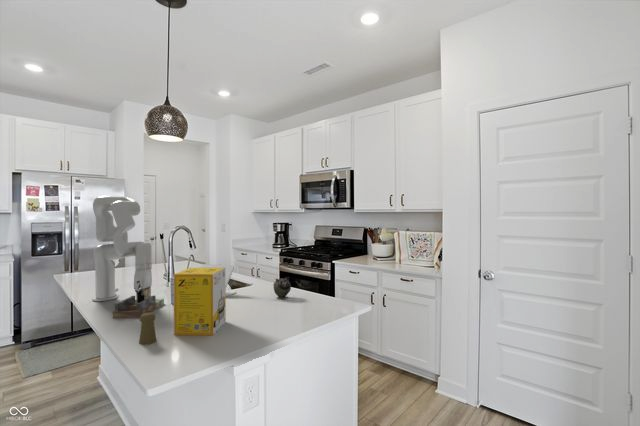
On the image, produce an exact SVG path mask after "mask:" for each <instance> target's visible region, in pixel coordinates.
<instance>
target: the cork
mask: <svg viewBox="0 0 640 426" xmlns="http://www.w3.org/2000/svg"><path fill="white" fill-rule="evenodd" d="M139 320H140V323H141V327H140V331H139V332H140V334H139V340H138V344H139V345H141V344H142V345H144V346H145V345H151V344H153V342H154V343H156V342H157V334H156V327H155V320H156V314H155V313H154V312H150V313H144V314H142V315H141V317H140V318H139ZM155 341H156V342H155ZM142 345H141V346H142Z"/></svg>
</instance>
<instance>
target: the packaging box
mask: <svg viewBox="0 0 640 426" xmlns="http://www.w3.org/2000/svg"><path fill="white" fill-rule="evenodd" d="M173 277H174V304H173V335H174V336H214V335H215V334H216V333H217V332H218V331H219V329H220V328H221V327H222V326H224V324H225V323H226V320H227V319H226V318H227V314H226V308H227V307H226V302H227V301H226V291H227V290H226V289H227V287H225V268H201V267H188V268H186V269H184V270H181V271H179V272H176V273H174V274H173ZM216 331H217V332H216ZM214 333H215V334H214Z"/></svg>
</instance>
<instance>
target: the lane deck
mask: <svg viewBox="0 0 640 426" xmlns="http://www.w3.org/2000/svg"><path fill="white" fill-rule="evenodd" d="M164 304H165V298H164V297H162V298H161V297H160V298H159V297H158V298H156V295H151V297H149V298H147V299H145V300H144V301H142V302H140V303H138V304H136V295H131V296H130V297H127V298H125V299H123V300H121V301H119V302H116V303H115V304H114V310H113V311H112V312H111V313H112V319H130V318H131V319H132V318H134V319H135V318H137V319H138V318H139V319H140V317H141V315H142V314H144V313H153V312H154V311H155V310H157V309H158V308H159V307H161V306H163V305H164Z"/></svg>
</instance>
